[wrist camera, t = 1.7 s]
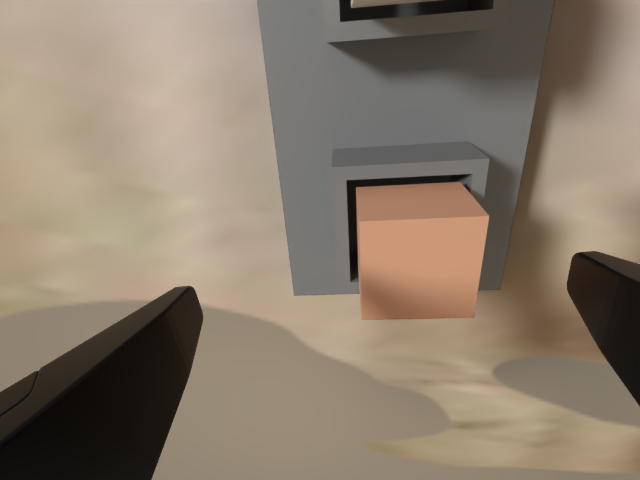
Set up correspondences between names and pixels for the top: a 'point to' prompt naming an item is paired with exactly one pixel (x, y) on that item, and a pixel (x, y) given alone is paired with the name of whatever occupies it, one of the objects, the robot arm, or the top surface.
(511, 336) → the top surface
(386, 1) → the beige cube
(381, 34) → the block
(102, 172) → the top surface
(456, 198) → the orange cube
